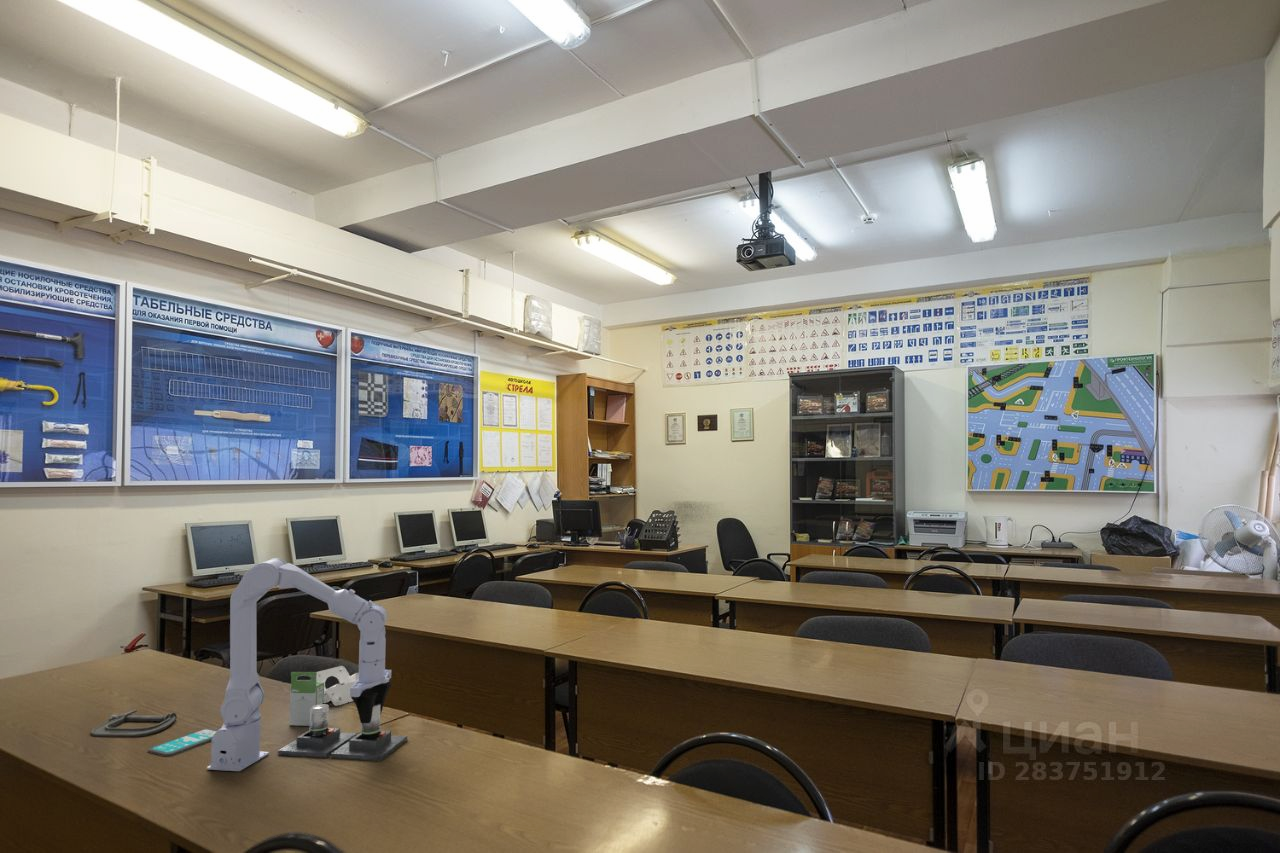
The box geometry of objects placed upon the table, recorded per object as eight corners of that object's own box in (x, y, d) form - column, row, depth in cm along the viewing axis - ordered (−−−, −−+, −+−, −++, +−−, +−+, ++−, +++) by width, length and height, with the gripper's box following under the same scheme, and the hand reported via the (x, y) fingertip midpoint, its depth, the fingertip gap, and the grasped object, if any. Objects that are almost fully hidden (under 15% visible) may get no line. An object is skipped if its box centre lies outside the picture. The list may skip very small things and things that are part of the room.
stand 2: (381, 761, 151) (381, 743, 151) (330, 758, 153) (331, 741, 153) (407, 740, 163) (407, 724, 163) (360, 737, 164) (360, 721, 165)
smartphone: (231, 731, 168) (169, 754, 154) (231, 735, 167) (168, 758, 154) (208, 726, 171) (144, 748, 157) (207, 730, 171) (144, 752, 157)
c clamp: (71, 737, 167) (72, 725, 168) (134, 713, 184) (134, 702, 185) (142, 741, 164) (143, 730, 164) (200, 717, 181) (200, 706, 181)
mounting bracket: (361, 700, 198) (353, 663, 201) (372, 694, 195) (364, 657, 198) (321, 712, 188) (313, 673, 192) (333, 706, 185) (325, 666, 188)
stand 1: (326, 757, 153) (327, 740, 153) (277, 755, 155) (278, 738, 155) (356, 737, 165) (356, 721, 165) (310, 735, 166) (311, 719, 167)
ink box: (323, 721, 176) (325, 668, 177) (314, 727, 172) (316, 672, 173) (298, 720, 176) (299, 667, 177) (288, 726, 173) (290, 671, 173)
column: (374, 735, 156) (374, 708, 156) (357, 734, 156) (358, 707, 157) (383, 728, 160) (384, 702, 160) (367, 728, 160) (367, 702, 161)
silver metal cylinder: (321, 736, 157) (322, 710, 158) (305, 736, 158) (306, 709, 158) (332, 730, 162) (332, 704, 162) (316, 729, 162) (316, 703, 163)
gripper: (371, 668, 151) (370, 731, 150) (403, 651, 166) (402, 709, 165) (342, 667, 152) (340, 730, 151) (376, 650, 167) (375, 708, 166)
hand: (370, 719), depth 158 cm, fingers closed on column, 4 cm apart
